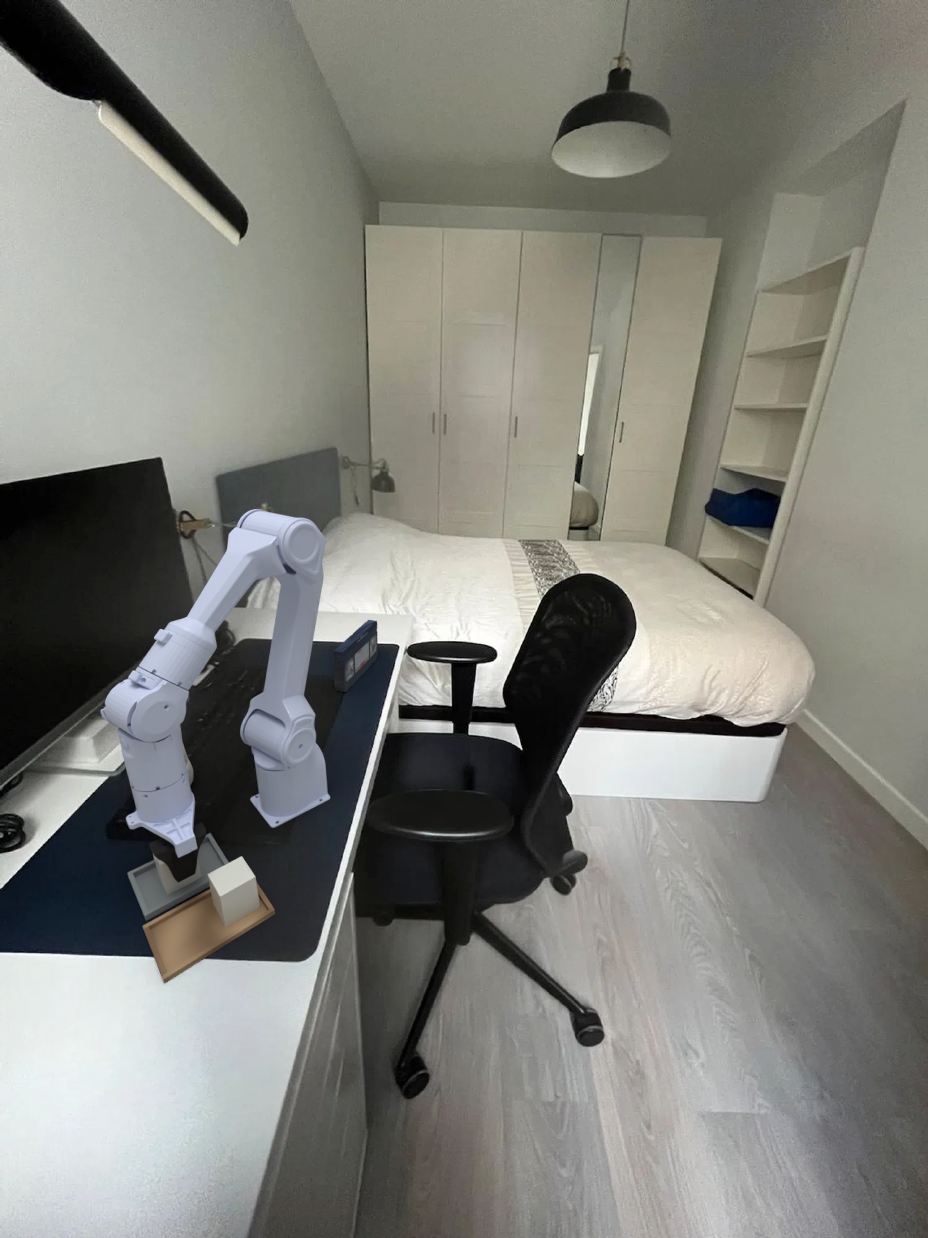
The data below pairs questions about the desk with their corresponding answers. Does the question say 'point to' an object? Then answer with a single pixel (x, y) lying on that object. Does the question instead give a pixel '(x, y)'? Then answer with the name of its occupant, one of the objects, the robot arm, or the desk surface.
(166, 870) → the white block
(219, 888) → the stone
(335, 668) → the vhs cassette tape
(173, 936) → the walnut tray
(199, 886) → the charcoal tray
